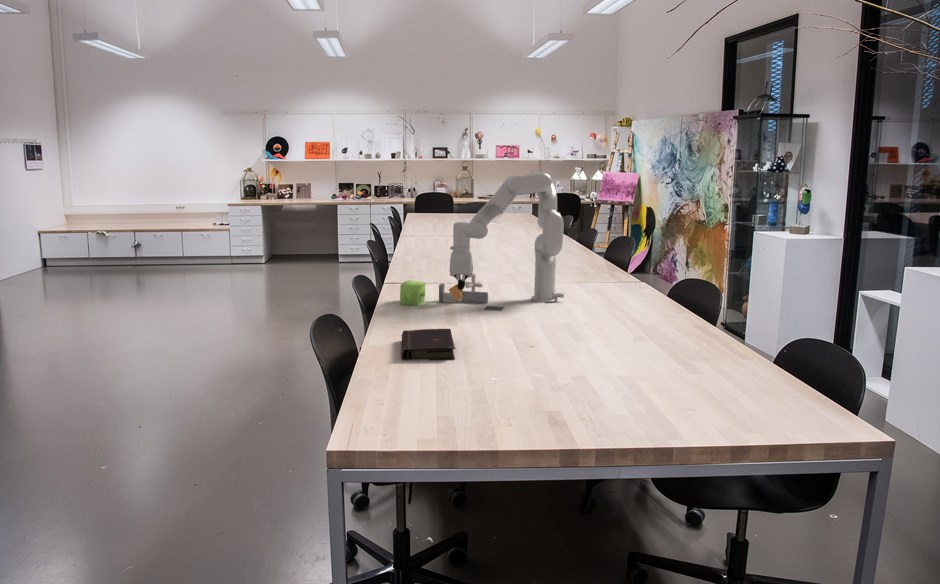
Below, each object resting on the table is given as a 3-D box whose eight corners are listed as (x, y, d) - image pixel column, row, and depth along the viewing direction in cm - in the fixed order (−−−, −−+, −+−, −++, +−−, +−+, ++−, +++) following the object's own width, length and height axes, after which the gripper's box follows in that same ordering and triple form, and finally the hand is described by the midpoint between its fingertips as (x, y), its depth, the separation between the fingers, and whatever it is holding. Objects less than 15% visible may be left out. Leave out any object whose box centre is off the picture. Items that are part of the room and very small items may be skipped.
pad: (504, 307, 315) (504, 307, 315) (501, 311, 307) (501, 310, 307) (486, 306, 317) (486, 305, 317) (483, 310, 309) (483, 309, 309)
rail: (488, 302, 325) (488, 285, 324) (486, 305, 320) (486, 287, 319) (441, 300, 330) (441, 283, 329) (438, 302, 325) (438, 285, 324)
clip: (465, 294, 327) (458, 283, 327) (462, 296, 322) (455, 285, 322) (458, 298, 329) (451, 287, 328) (455, 301, 323) (448, 289, 323)
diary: (401, 363, 234) (401, 348, 233) (401, 343, 258) (401, 329, 257) (457, 361, 235) (457, 346, 234) (452, 341, 260) (452, 328, 259)
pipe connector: (475, 297, 336) (475, 277, 335) (458, 295, 342) (459, 274, 340) (487, 294, 344) (487, 274, 342) (471, 292, 350) (471, 272, 348)
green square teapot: (417, 309, 313) (418, 288, 311) (396, 306, 315) (396, 286, 313) (429, 300, 330) (430, 280, 328) (410, 298, 332) (410, 278, 330)
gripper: (443, 249, 319) (443, 289, 322) (475, 251, 315) (475, 291, 319) (447, 247, 326) (447, 286, 329) (479, 248, 323) (478, 288, 326)
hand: (461, 288), depth 324 cm, fingers closed
